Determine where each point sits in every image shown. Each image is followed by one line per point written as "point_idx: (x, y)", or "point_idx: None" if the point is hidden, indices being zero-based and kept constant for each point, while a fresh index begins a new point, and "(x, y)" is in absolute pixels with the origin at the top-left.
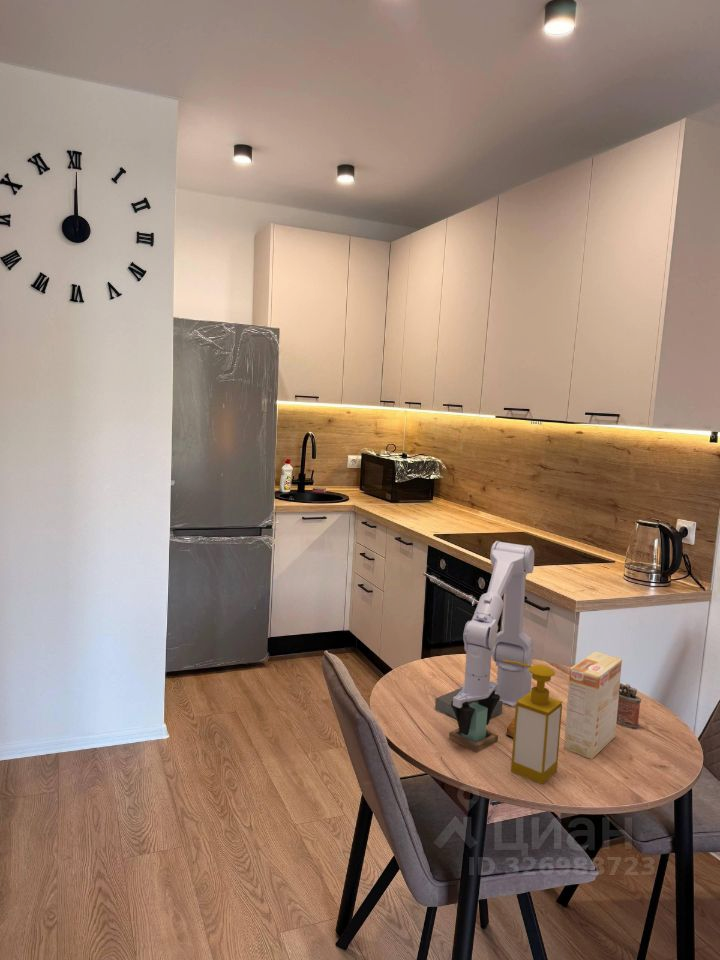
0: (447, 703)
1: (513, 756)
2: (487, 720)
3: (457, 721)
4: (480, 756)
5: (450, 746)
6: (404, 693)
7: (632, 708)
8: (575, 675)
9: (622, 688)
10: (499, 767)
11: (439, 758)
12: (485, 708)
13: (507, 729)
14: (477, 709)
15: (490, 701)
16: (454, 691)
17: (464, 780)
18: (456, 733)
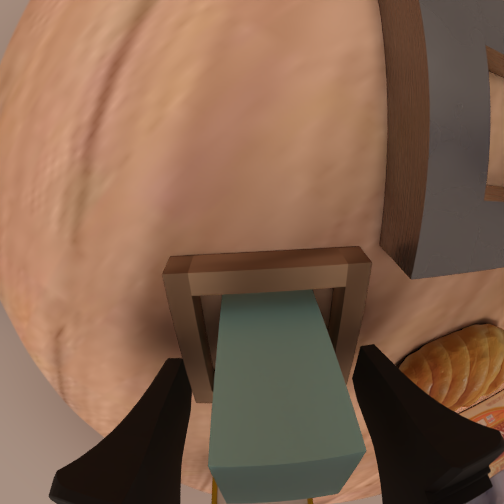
0: (425, 43)
1: (213, 489)
2: (360, 400)
3: (139, 400)
4: (193, 397)
5: (131, 306)
6: None
7: None
8: None
9: None
10: (200, 438)
11: (52, 330)
12: (323, 495)
13: (412, 374)
14: (269, 496)
15: (391, 498)
16: None
17: (78, 413)
18: (191, 304)
